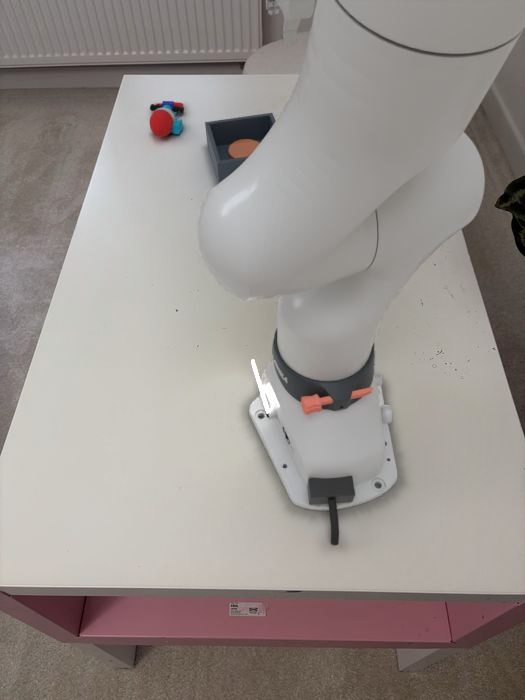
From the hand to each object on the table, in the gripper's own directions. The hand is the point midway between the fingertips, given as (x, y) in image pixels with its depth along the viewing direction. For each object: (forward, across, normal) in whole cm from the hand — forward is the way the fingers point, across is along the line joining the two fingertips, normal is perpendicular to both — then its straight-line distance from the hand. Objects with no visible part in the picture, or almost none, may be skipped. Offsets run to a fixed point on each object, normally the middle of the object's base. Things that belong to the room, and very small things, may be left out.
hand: (280, 26), depth 74 cm
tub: (+29, +10, +4) cm, 31 cm away
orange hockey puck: (+28, +10, +4) cm, 30 cm away
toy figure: (+29, +27, +18) cm, 43 cm away
